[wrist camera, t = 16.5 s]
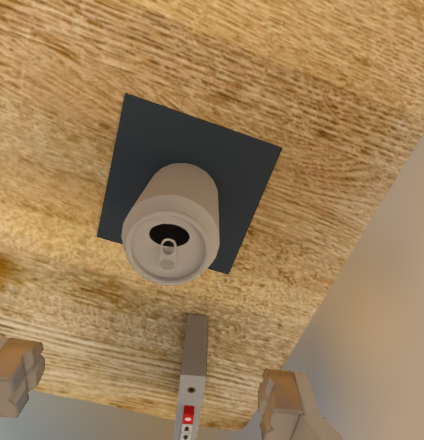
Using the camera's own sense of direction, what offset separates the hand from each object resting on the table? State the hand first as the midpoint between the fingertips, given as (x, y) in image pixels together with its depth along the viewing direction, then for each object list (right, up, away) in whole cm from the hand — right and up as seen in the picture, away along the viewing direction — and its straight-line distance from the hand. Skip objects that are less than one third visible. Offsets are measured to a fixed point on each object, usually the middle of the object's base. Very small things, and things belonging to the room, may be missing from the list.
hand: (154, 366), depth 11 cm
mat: (-1, +8, +21) cm, 23 cm away
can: (-1, +8, +21) cm, 23 cm away
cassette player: (-1, -14, +32) cm, 35 cm away
